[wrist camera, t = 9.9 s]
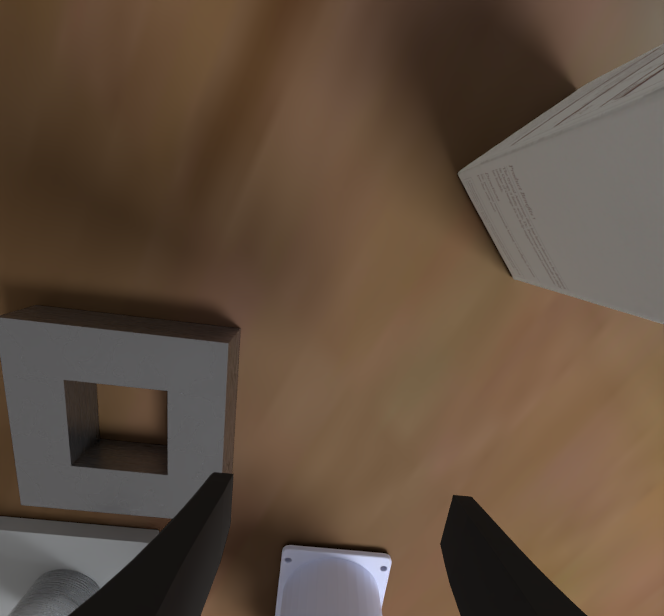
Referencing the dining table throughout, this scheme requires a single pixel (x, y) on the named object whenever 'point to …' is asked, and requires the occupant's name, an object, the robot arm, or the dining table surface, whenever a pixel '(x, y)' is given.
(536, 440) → the dining table surface
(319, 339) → the dining table surface
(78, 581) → the white gold-topped cylinder
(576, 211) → the supplement box
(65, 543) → the mat
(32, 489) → the housing
